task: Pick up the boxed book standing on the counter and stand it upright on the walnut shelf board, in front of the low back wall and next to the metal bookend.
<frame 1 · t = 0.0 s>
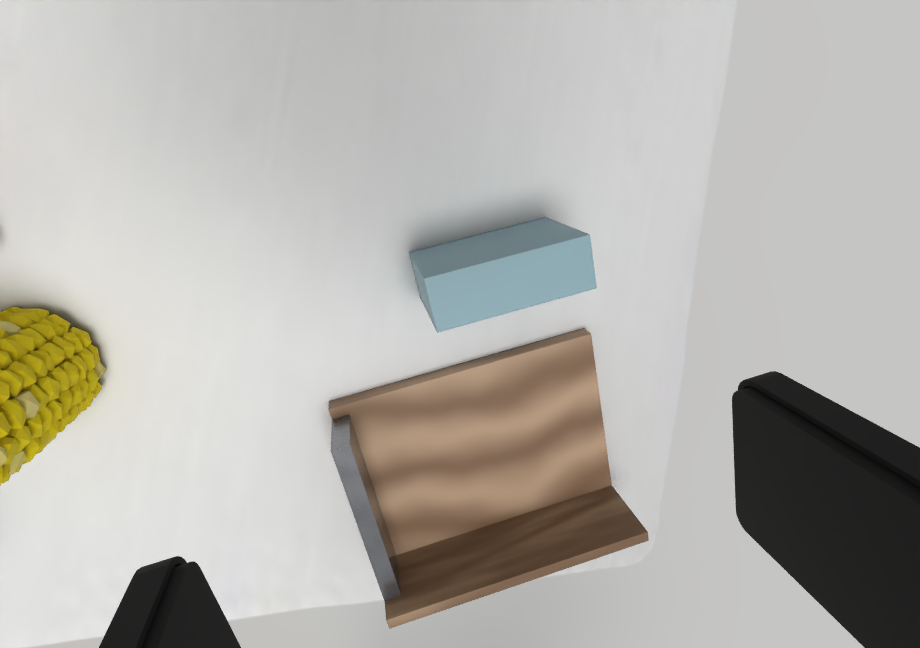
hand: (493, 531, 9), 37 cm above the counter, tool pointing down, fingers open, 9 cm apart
book: (482, 257, 46), on the counter
food: (35, 362, 42), on the counter
shelf: (479, 446, 52), on the counter
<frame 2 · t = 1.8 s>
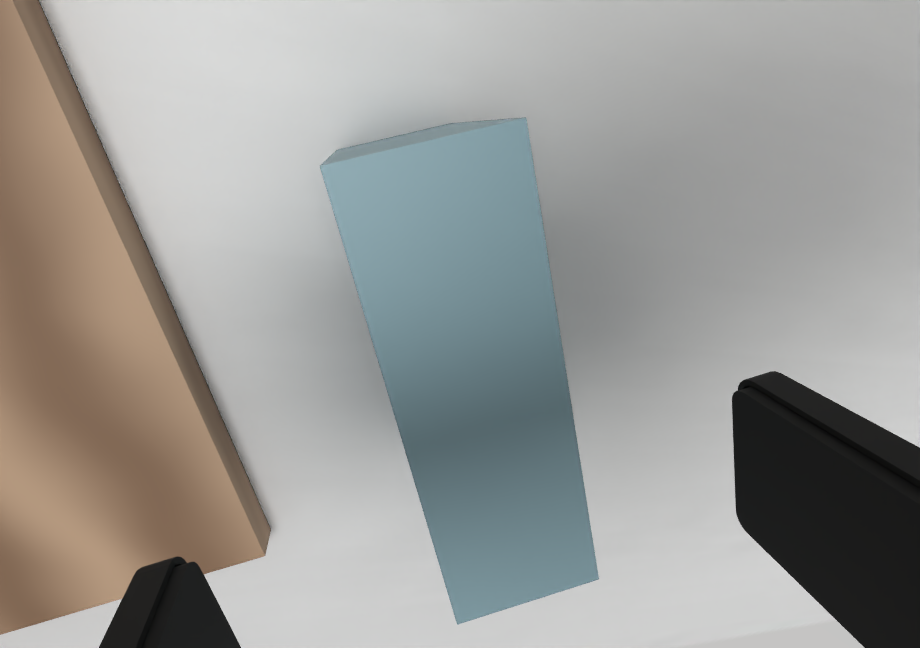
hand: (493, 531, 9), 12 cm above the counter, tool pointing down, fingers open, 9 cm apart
book: (434, 298, 21), on the counter
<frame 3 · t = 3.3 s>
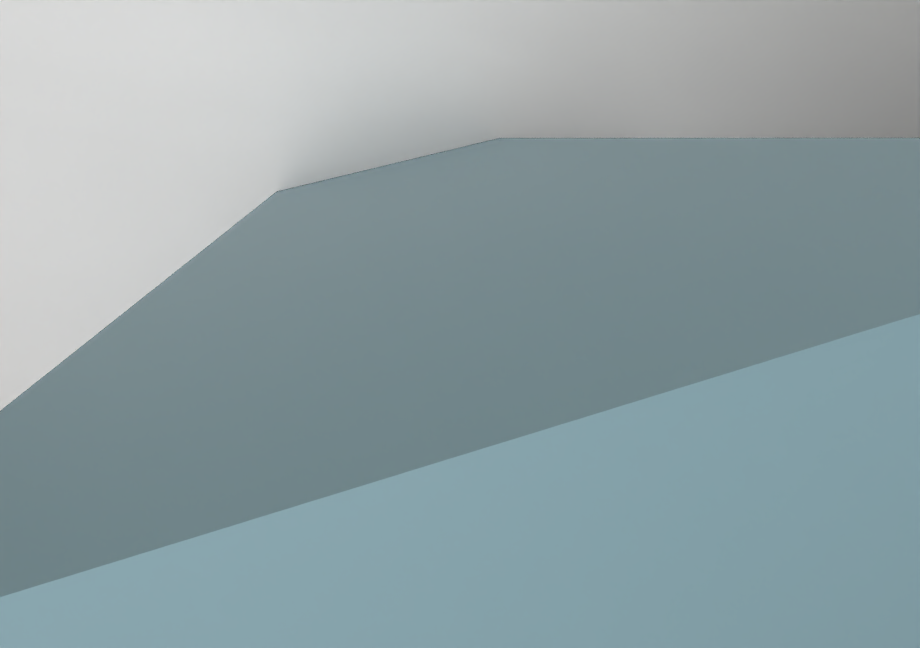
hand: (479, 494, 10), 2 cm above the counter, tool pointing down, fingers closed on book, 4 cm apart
book: (462, 448, 12), on the counter, touching gripper
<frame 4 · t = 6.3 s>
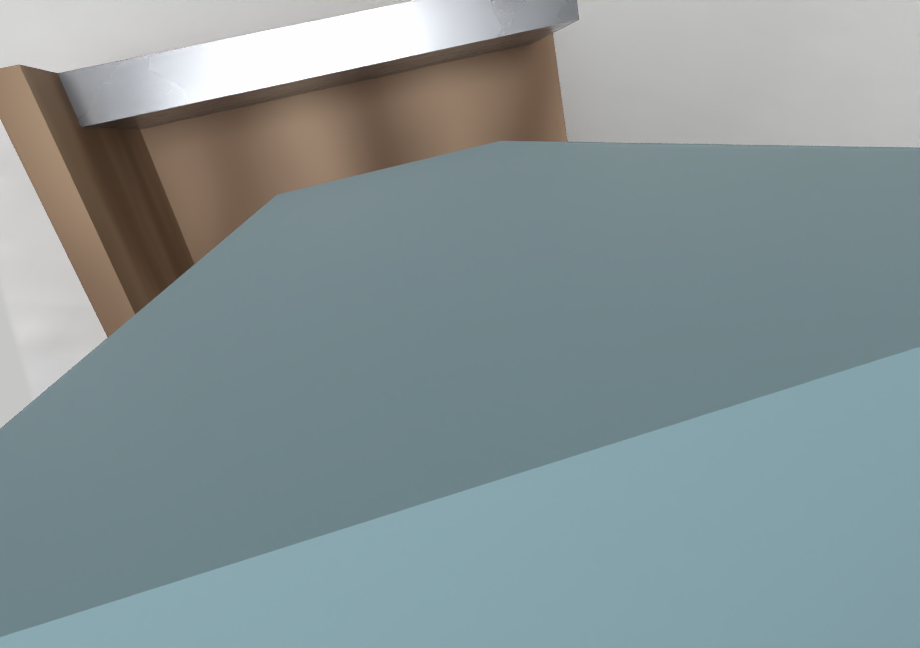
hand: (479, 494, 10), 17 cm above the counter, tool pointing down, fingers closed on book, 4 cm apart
book: (463, 451, 12), point 16 cm above the counter, touching gripper
shelf: (404, 313, 27), on the counter
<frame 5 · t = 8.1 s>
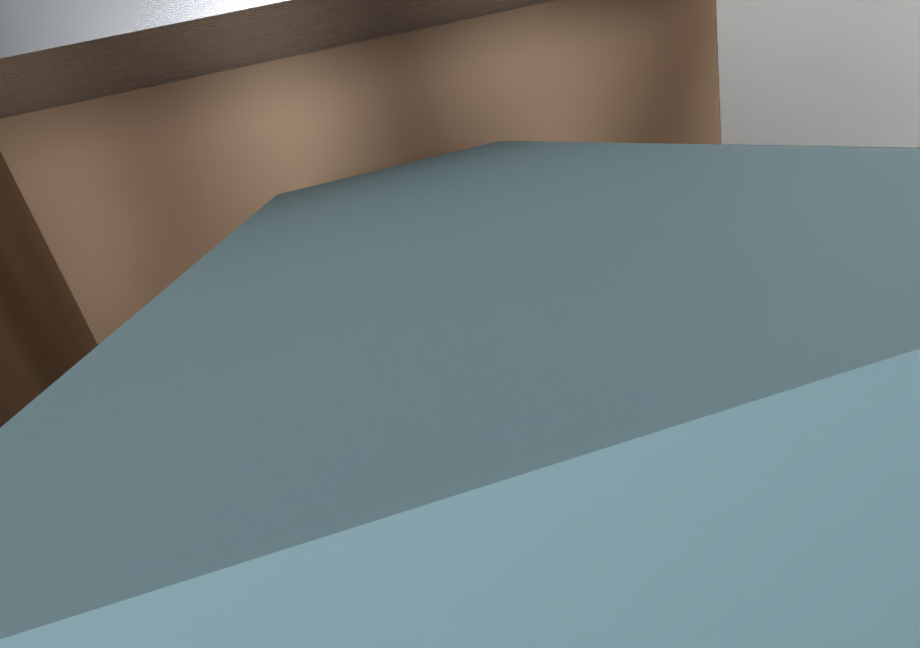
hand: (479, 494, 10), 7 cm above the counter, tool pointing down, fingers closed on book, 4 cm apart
book: (463, 451, 12), point 6 cm above the counter, touching gripper
shelf: (446, 406, 17), on the counter
when the fingers open (5 cm above the counter, at t = 9.4 s): book drops 2 cm, resting on shelf.
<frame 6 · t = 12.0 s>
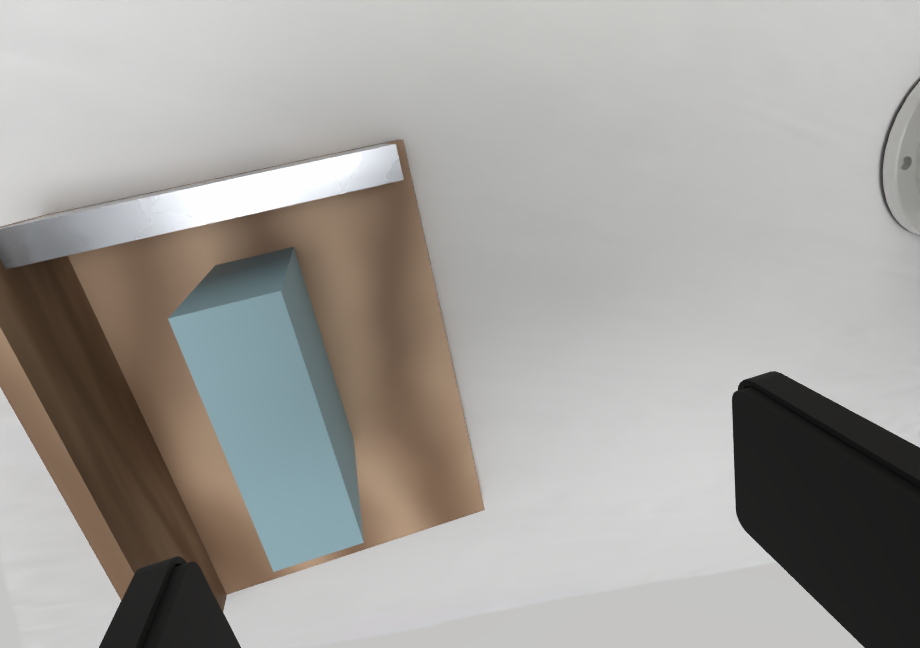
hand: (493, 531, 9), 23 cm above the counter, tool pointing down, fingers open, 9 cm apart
book: (290, 359, 30), point 1 cm above the counter, touching shelf
shelf: (298, 380, 32), on the counter
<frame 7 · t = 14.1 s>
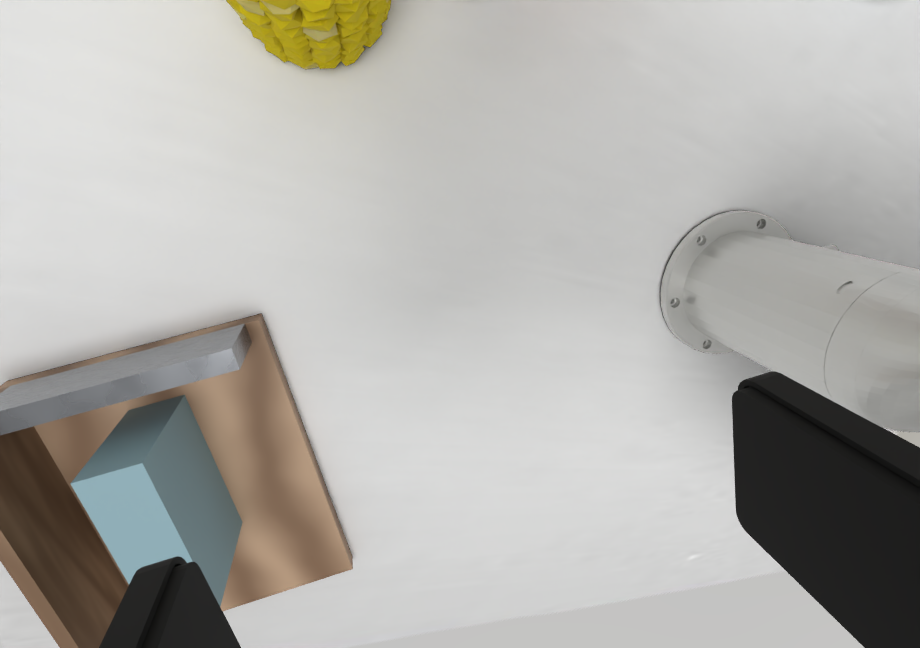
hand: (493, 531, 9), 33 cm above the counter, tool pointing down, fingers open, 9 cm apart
book: (188, 469, 41), point 1 cm above the counter, touching shelf
shelf: (201, 479, 44), on the counter
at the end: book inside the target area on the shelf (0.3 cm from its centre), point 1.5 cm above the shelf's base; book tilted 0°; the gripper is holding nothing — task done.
